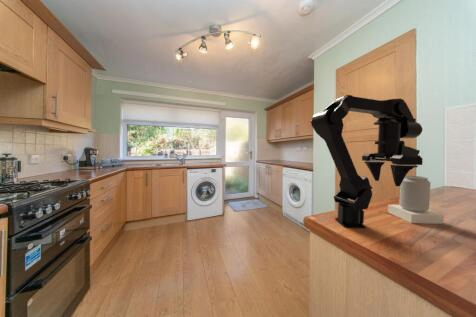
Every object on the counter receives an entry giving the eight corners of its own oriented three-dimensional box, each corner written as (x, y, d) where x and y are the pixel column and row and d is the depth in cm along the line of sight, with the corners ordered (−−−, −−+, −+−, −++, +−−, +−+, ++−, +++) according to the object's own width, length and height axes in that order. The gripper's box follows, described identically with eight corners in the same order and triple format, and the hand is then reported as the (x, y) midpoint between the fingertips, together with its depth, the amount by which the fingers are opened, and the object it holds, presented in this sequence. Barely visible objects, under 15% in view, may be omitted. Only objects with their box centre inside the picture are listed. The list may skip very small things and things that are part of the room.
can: (434, 212, 60) (437, 177, 59) (416, 213, 59) (418, 178, 58) (410, 205, 67) (412, 174, 66) (393, 206, 66) (395, 175, 65)
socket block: (411, 222, 58) (411, 214, 58) (387, 212, 68) (388, 204, 68) (443, 223, 58) (443, 214, 58) (415, 212, 68) (415, 205, 68)
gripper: (444, 136, 49) (440, 190, 50) (391, 139, 68) (389, 178, 69) (403, 136, 50) (400, 189, 51) (361, 139, 69) (360, 178, 70)
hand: (386, 183), depth 60 cm, fingers open, 9 cm apart
